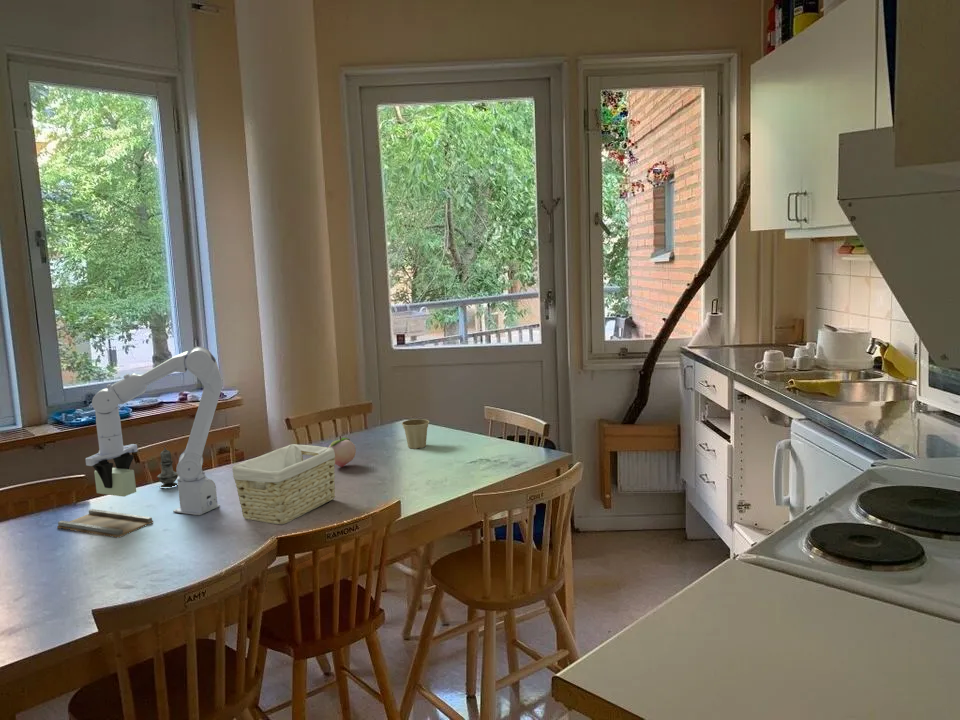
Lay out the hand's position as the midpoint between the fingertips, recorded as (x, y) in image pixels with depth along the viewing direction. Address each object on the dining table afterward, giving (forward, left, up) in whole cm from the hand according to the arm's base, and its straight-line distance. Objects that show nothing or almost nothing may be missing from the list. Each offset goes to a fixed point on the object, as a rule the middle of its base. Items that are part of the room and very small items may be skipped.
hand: (115, 485), depth 205 cm
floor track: (0, +5, -9) cm, 10 cm away
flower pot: (-42, -86, -10) cm, 97 cm away
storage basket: (-40, -20, -10) cm, 46 cm away
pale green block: (0, 0, -2) cm, 2 cm away
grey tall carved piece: (+10, -26, -10) cm, 30 cm away
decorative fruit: (-31, -58, -10) cm, 67 cm away
